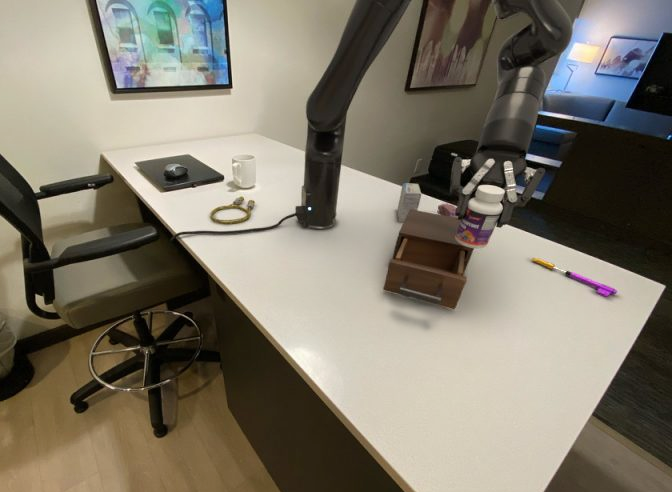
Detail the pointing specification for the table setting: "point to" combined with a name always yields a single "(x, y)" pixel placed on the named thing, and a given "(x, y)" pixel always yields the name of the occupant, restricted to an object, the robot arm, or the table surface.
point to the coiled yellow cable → (237, 201)
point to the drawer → (427, 272)
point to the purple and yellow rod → (582, 279)
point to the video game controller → (447, 210)
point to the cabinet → (432, 231)
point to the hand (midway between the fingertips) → (480, 221)
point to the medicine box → (408, 200)
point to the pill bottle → (480, 217)
